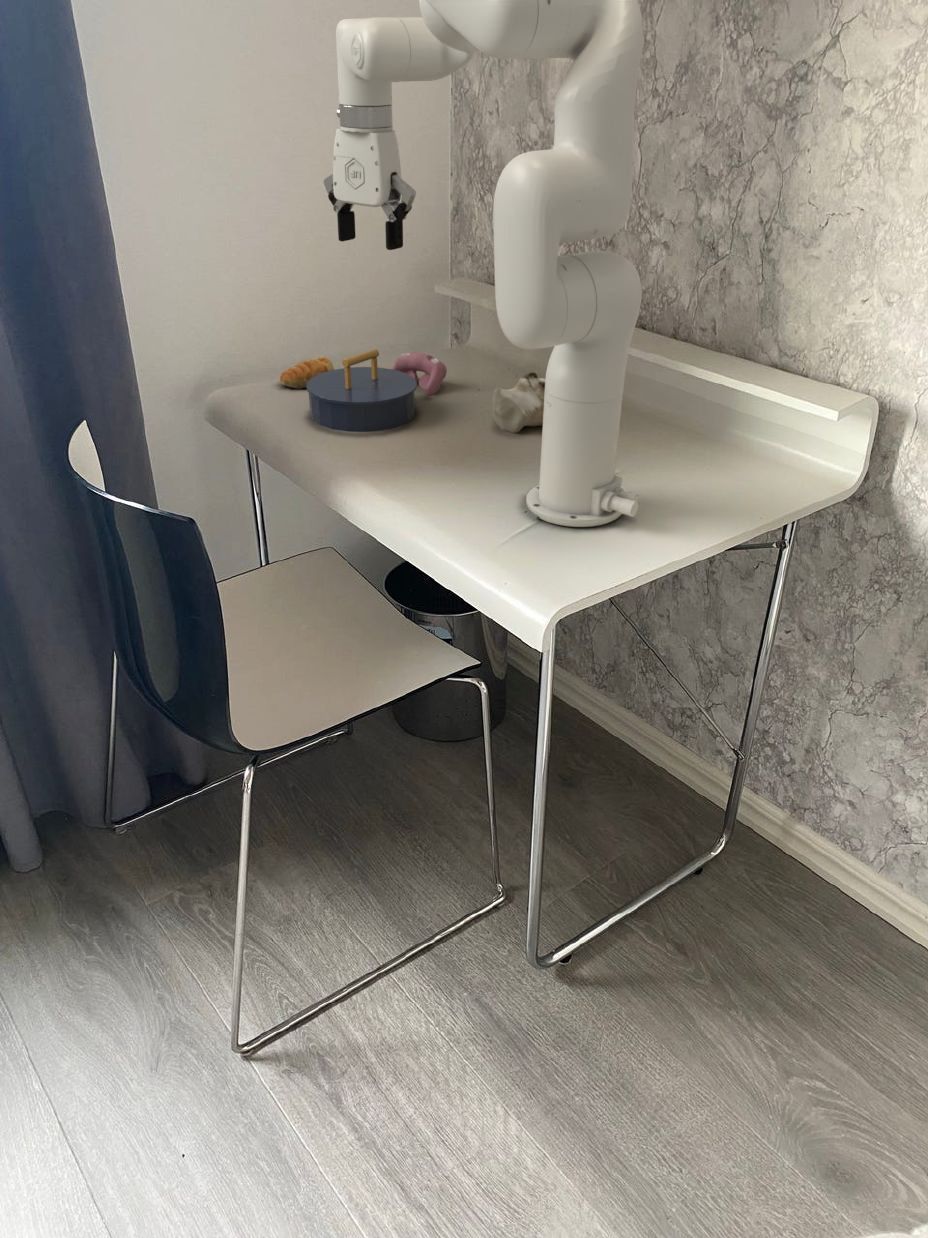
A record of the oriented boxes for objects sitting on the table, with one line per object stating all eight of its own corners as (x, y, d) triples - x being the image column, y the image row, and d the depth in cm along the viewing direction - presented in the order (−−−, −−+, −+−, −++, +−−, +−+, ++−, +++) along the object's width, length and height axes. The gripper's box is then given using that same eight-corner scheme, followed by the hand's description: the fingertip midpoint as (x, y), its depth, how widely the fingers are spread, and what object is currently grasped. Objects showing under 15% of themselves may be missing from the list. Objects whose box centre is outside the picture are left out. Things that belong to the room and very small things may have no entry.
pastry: (292, 393, 166) (290, 371, 164) (272, 383, 171) (270, 361, 169) (340, 382, 171) (339, 360, 169) (319, 373, 176) (318, 351, 174)
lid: (439, 388, 156) (439, 352, 154) (365, 417, 145) (364, 379, 142) (359, 366, 165) (357, 332, 162) (283, 392, 154) (280, 356, 151)
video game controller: (443, 401, 168) (453, 360, 167) (429, 396, 164) (440, 354, 163) (395, 391, 172) (405, 350, 171) (380, 385, 168) (390, 344, 167)
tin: (435, 413, 159) (435, 384, 156) (366, 443, 148) (365, 411, 145) (360, 392, 167) (358, 364, 164) (289, 418, 156) (287, 388, 153)
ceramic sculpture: (475, 368, 150) (552, 358, 158) (471, 423, 154) (546, 411, 162) (518, 388, 143) (596, 376, 151) (512, 445, 147) (589, 431, 155)
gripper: (304, 116, 145) (312, 240, 154) (394, 124, 136) (397, 256, 145) (340, 113, 150) (346, 233, 159) (429, 121, 141) (430, 248, 150)
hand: (370, 244), depth 152 cm, fingers open, 9 cm apart
